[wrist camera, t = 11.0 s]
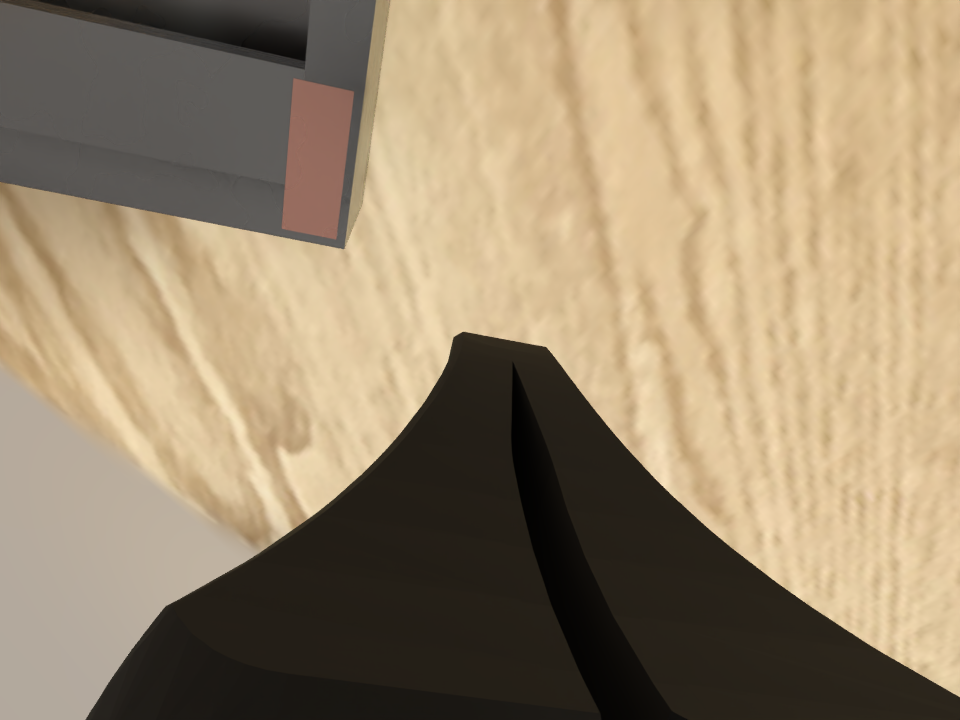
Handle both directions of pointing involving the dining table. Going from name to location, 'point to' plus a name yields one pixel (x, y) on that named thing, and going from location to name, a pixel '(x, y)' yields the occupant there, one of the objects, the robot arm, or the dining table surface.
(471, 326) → the dining table surface
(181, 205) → the switch box
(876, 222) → the dining table surface
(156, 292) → the dining table surface
